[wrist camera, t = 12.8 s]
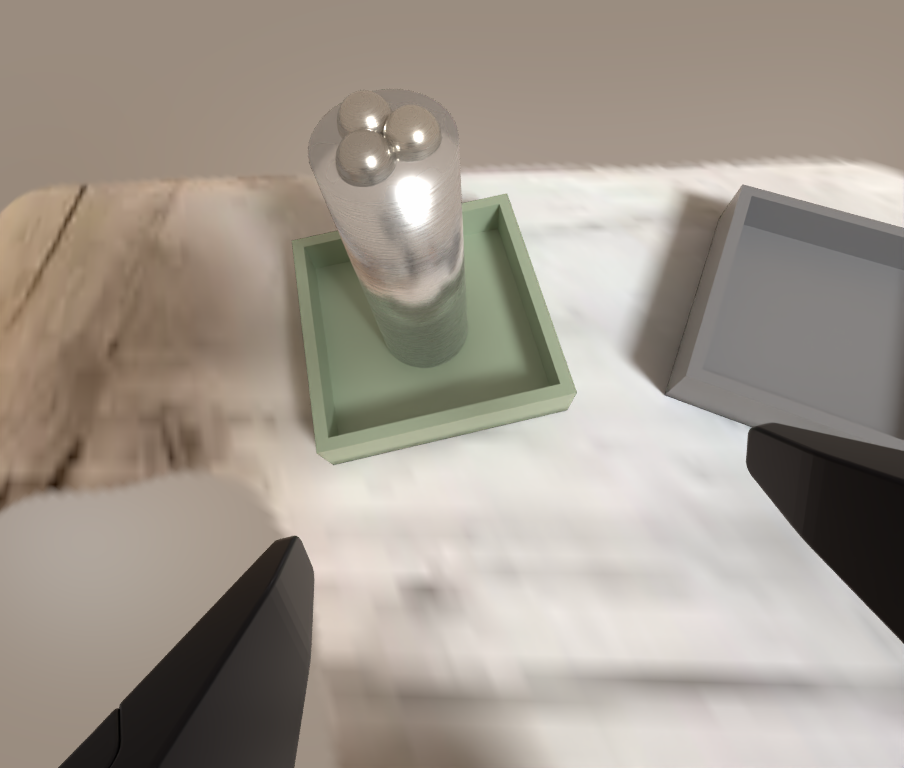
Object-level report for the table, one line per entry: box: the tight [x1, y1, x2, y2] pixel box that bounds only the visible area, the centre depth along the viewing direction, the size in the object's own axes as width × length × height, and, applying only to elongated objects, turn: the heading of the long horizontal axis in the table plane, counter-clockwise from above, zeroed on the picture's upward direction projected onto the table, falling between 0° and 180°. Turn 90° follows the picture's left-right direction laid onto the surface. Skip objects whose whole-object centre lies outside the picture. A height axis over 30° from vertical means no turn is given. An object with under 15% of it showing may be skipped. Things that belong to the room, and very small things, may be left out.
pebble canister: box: [308, 89, 468, 368], centre depth 19 cm, size 5×5×13 cm
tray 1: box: [292, 194, 577, 465], centre depth 25 cm, size 12×12×3 cm
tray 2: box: [665, 185, 904, 451], centre depth 23 cm, size 12×12×3 cm
